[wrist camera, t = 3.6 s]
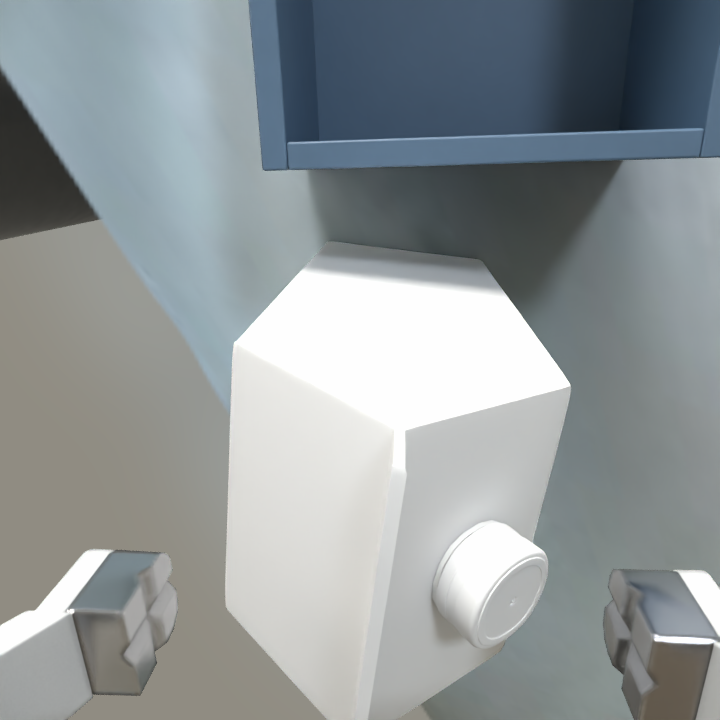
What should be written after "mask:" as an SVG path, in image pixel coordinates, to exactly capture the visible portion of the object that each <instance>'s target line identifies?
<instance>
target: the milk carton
mask: <svg viewBox="0 0 720 720" xmlns="http://www.w3.org/2000/svg"><path fill="white" fill-rule="evenodd" d="M570 394H571V385H570V383H569V382H568V380H567V379H566V377H565V376H564V374H563V373H562V371H561V370H560V369H559V367H558V366H557V364H556V363H555V361H554V360H553V359H552V357H551V356H550V355H549V353H548V352H547V350H546V349H545V348H544V346H543V345H542V343H541V342H540V341H539V339H538V338H537V337H536V335H535V334H534V332H533V331H532V330H531V328H530V327H529V325H528V324H527V323H526V321H525V320H524V319H523V317H522V316H521V314H520V313H519V312H518V310H517V309H516V307H515V306H514V305H513V303H512V302H511V301H510V299H509V298H508V296H507V295H506V294H505V292H504V291H503V289H502V288H501V287H500V285H499V284H498V283H497V281H496V280H495V278H494V277H493V276H492V274H491V273H490V271H489V270H488V269H487V267H486V266H485V265H484V263H483V262H482V261H481V260H479V259H471V258H463V257H455V256H447V255H438V254H430V253H422V252H414V251H406V250H397V249H389V248H381V247H373V246H365V245H356V244H348V243H340V242H332V241H328V242H327V243H326V244H325V245H324V246H323V247H322V248H321V249H320V251H319V252H318V253H317V254H316V255H315V256H314V257H313V258H312V259H311V260H310V261H309V263H308V264H307V265H306V266H305V267H304V268H303V269H302V270H301V271H300V272H299V274H298V275H297V276H296V277H295V278H294V279H293V280H292V281H291V282H290V283H289V284H288V286H287V287H286V288H285V289H284V290H283V291H282V292H281V293H280V294H279V295H278V296H277V298H276V299H275V300H274V301H273V302H272V303H271V304H270V305H269V306H268V307H267V309H266V310H265V311H264V312H263V313H262V314H261V315H260V316H259V317H258V318H257V319H256V321H255V322H254V323H253V324H252V325H251V326H250V327H249V328H248V329H247V330H246V332H245V333H244V334H243V335H242V336H241V337H240V338H239V339H238V340H237V341H236V342H234V346H233V356H232V379H231V411H230V444H229V445H230V446H229V447H230V448H229V478H228V511H227V543H226V576H225V577H226V578H225V604H226V609H227V610H228V611H229V612H230V613H231V615H232V616H233V617H234V618H235V619H236V620H237V621H238V622H239V623H240V624H241V626H242V627H243V628H244V629H245V630H246V631H247V632H248V633H249V634H250V635H251V637H252V638H253V639H254V640H255V641H256V642H257V643H258V644H259V645H260V647H261V648H262V649H263V650H264V651H265V652H266V653H267V654H268V655H269V656H270V657H271V659H272V660H273V661H274V662H275V663H276V664H277V665H278V666H279V667H280V669H281V670H282V671H283V672H284V673H285V674H286V675H287V676H288V677H289V678H290V680H291V681H292V682H293V683H294V684H295V685H296V686H297V687H298V688H299V689H300V690H301V692H302V693H303V694H304V695H305V696H306V697H307V698H308V699H309V700H310V702H311V703H312V704H313V705H314V706H315V707H316V708H317V709H318V710H319V711H320V713H321V714H322V715H323V716H324V717H325V718H326V719H327V720H397V719H399V718H400V717H402V716H403V715H405V714H406V713H408V712H409V711H411V710H412V709H414V708H416V707H417V706H419V705H420V704H422V703H423V702H425V701H426V700H428V699H429V698H431V697H432V696H434V695H435V694H437V693H438V692H440V691H441V690H443V689H444V688H446V687H447V686H449V685H451V684H452V683H454V682H455V681H457V680H458V679H460V678H461V677H463V676H464V675H466V674H467V673H469V672H470V671H472V670H473V669H475V668H476V667H478V666H479V665H481V664H482V663H484V662H485V661H487V660H488V659H490V658H491V657H493V656H494V655H496V654H497V653H498V652H500V651H501V650H502V648H503V646H504V644H505V641H506V639H507V638H508V637H510V636H511V635H512V634H513V633H514V632H515V631H517V630H518V629H519V628H520V626H521V625H522V624H523V623H524V622H525V621H526V620H527V619H528V617H529V616H530V614H531V613H532V611H533V610H534V608H535V607H536V605H537V603H538V601H539V599H540V597H541V594H542V592H543V590H544V587H545V584H546V580H547V576H548V567H549V566H548V558H547V556H546V554H545V552H544V551H543V550H541V549H540V548H539V547H537V546H536V545H534V544H533V539H534V535H535V531H536V527H537V524H538V520H539V516H540V512H541V509H542V505H543V501H544V497H545V493H546V490H547V486H548V482H549V478H550V475H551V471H552V467H553V463H554V460H555V456H556V452H557V448H558V445H559V441H560V437H561V433H562V429H563V425H564V421H565V416H566V412H567V408H568V403H569V399H570Z"/></svg>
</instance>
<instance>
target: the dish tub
mask: <svg viewBox="0 0 720 720" xmlns="http://www.w3.org/2000/svg"><path fill="white" fill-rule="evenodd" d="M248 1H249V13H250V25H251V37H252V48H253V60H254V72H255V84H256V96H257V108H258V120H259V132H260V144H261V155H262V167H263V170H265V171H275V170H309V169H342V168H376V167H409V166H443V165H476V164H509V163H543V162H576V161H610V160H643V159H677V158H711V157H720V0H248Z"/></svg>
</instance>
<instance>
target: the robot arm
mask: <svg viewBox="0 0 720 720" xmlns="http://www.w3.org/2000/svg"><path fill="white" fill-rule="evenodd" d="M172 571H173V569H172V564H171V560H170V556H169V555H167V554H165V553H161V552H159V553H158V552H144V551H143V552H142V551H127V550H103V549H90V550H88V551H86V552H84V553H83V554H82V556H81V557H80V558H79V559H78V560H77V561H76V563H75V564H74V565H73V566H72V567H71V568H70V570H69V571H68V572H67V573H66V575H65V576H64V577H63V578H62V579H61V581H60V582H59V583H58V584H57V585H56V586H55V588H54V589H53V590H52V591H51V592H50V594H49V595H48V596H47V597H46V598H45V600H44V601H43V602H42V603H41V604H40V606H39V607H38V608H37V609H36V610H35V611H26V612H24V613H22V614H20V615H18V616H16V617H15V618H13V619H11V620H9V621H7V622H5V623H4V624H2V625H0V720H68V719H69V718H70V717H71V716H72V715H73V714H74V713H76V712H77V711H78V710H79V709H80V708H81V707H83V706H84V705H85V704H86V703H87V702H88V701H89V700H91V698H93V694H96V695H97V694H98V695H99V694H100V695H131V696H140V695H141V693H142V691H143V689H144V687H145V685H146V683H147V681H148V679H149V678H150V676H151V674H152V672H153V670H154V668H155V666H156V664H157V661H156V656H155V651H156V650H158V649H159V648H160V647H162V646H163V645H165V644H166V643H167V642H168V640H169V638H170V636H171V634H172V632H173V630H174V626H175V622H176V617H177V613H178V598H177V592H176V589H175V588H174V587H173V586H172V585H171V583H170V582H169V581H168V578H169V576H170V574H171V573H172ZM608 589H609V591H610V593H611V595H612V598H613V600H612V601H611V602H610V603H609V604H608V605H607V606H606V607H605V610H604V619H603V628H604V640H605V644H606V648H607V652H608V655H609V657H610V660H611V663H612V665H613V666H614V667H615V668H616V669H617V670H619V671H620V672H621V673H622V674H623V675H624V677H623V683H622V691H623V693H624V696H625V698H626V701H627V703H628V706H629V708H630V711H631V713H632V716H633V718H634V720H720V588H719V587H718V585H717V584H716V583H715V581H714V580H713V579H712V577H711V576H710V575H709V574H708V573H707V572H705V571H703V570H672V571H669V570H636V569H613V570H612V572H611V574H610V577H609V583H608Z"/></svg>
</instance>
